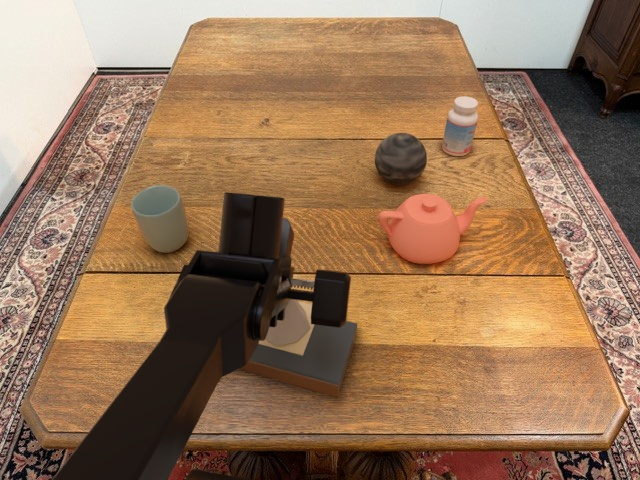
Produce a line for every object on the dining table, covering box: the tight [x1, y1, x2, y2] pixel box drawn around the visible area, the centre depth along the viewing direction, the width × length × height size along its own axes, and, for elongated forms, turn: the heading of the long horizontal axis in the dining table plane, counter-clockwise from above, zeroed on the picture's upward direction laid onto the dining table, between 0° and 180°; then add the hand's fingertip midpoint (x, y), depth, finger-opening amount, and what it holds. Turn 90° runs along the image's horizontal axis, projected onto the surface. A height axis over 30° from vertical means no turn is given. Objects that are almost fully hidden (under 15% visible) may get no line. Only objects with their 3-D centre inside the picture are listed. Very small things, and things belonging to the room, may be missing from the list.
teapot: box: [377, 193, 489, 265], centre depth 79 cm, size 12×18×10 cm
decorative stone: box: [374, 132, 428, 186], centre depth 91 cm, size 10×10×10 cm
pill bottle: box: [441, 95, 479, 157], centre depth 98 cm, size 6×6×11 cm
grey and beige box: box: [239, 300, 358, 398], centre depth 67 cm, size 11×16×3 cm
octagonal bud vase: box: [266, 299, 310, 346], centre depth 63 cm, size 7×7×10 cm
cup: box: [130, 184, 190, 254], centre depth 79 cm, size 8×8×10 cm
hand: (282, 284), depth 63 cm, fingers open, 9 cm apart
